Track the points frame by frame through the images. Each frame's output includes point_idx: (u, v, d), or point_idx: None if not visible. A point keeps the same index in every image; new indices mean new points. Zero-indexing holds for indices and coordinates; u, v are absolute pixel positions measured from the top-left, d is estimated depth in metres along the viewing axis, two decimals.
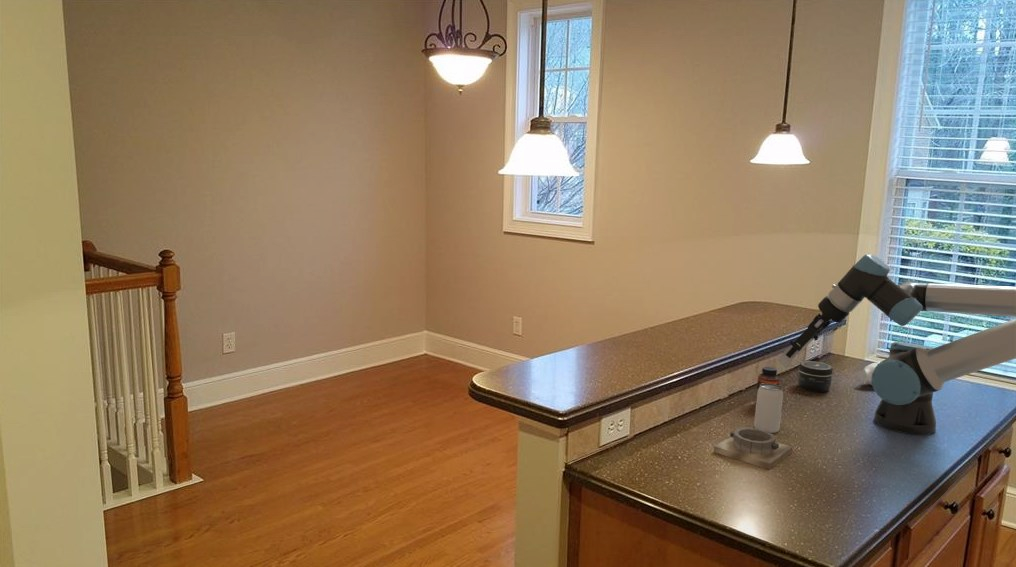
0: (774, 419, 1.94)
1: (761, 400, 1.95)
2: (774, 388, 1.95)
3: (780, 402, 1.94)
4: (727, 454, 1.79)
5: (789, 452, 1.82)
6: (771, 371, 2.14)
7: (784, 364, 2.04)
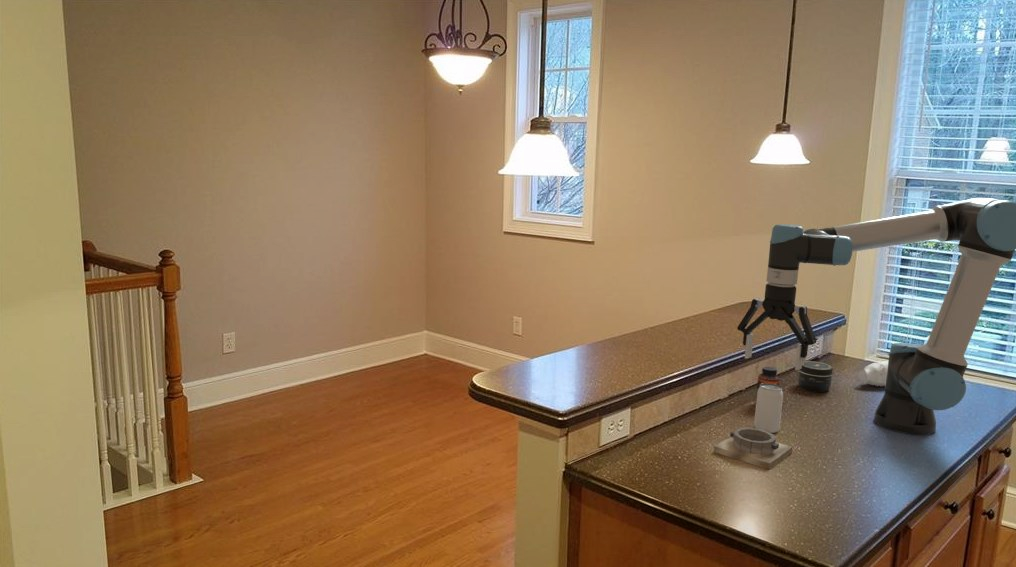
0: (774, 419, 1.94)
1: (761, 400, 1.95)
2: (774, 388, 1.95)
3: (780, 402, 1.94)
4: (727, 454, 1.79)
5: (789, 452, 1.82)
6: (771, 371, 2.14)
7: (801, 366, 1.91)
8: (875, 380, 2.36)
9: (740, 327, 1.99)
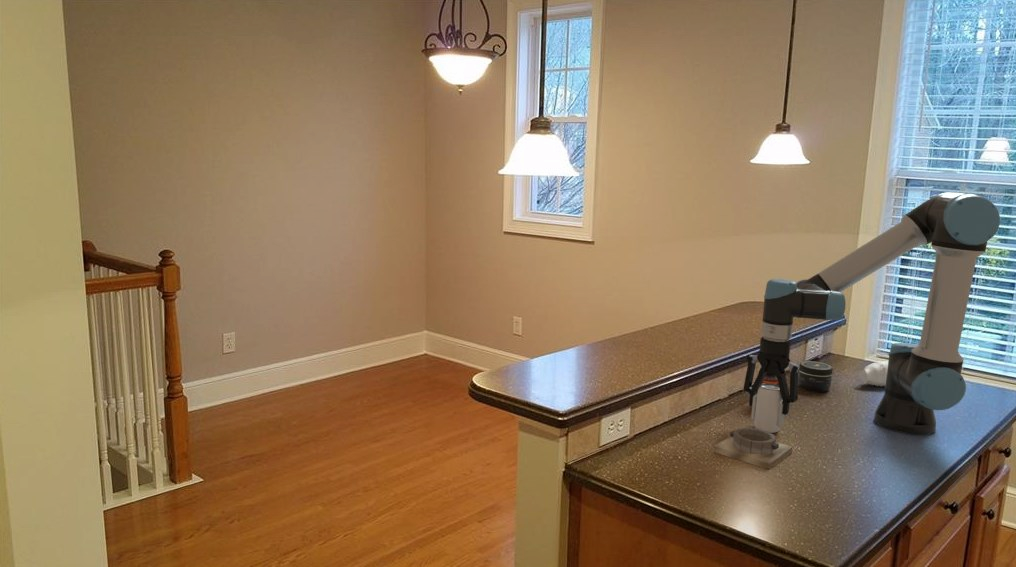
0: (774, 419, 1.94)
1: (761, 400, 1.95)
2: (774, 388, 1.95)
3: None
4: (727, 454, 1.79)
5: (789, 452, 1.82)
6: None
7: (783, 422, 1.96)
8: (875, 380, 2.36)
9: (746, 387, 1.99)
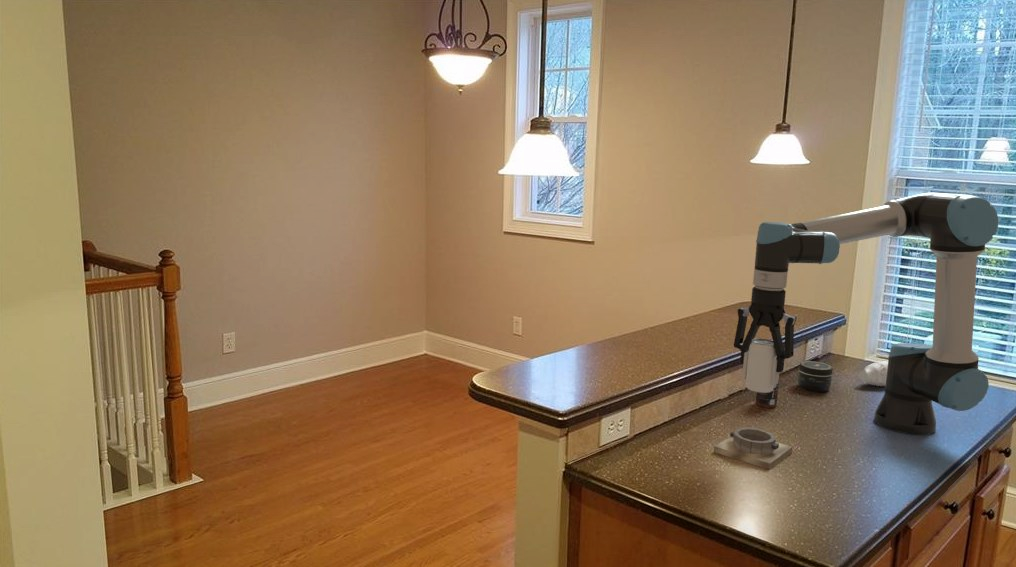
0: (767, 377, 1.75)
1: (753, 357, 1.76)
2: (767, 343, 1.77)
3: None
4: (727, 454, 1.79)
5: (789, 452, 1.82)
6: None
7: (777, 381, 1.77)
8: (875, 380, 2.36)
9: (736, 344, 1.81)
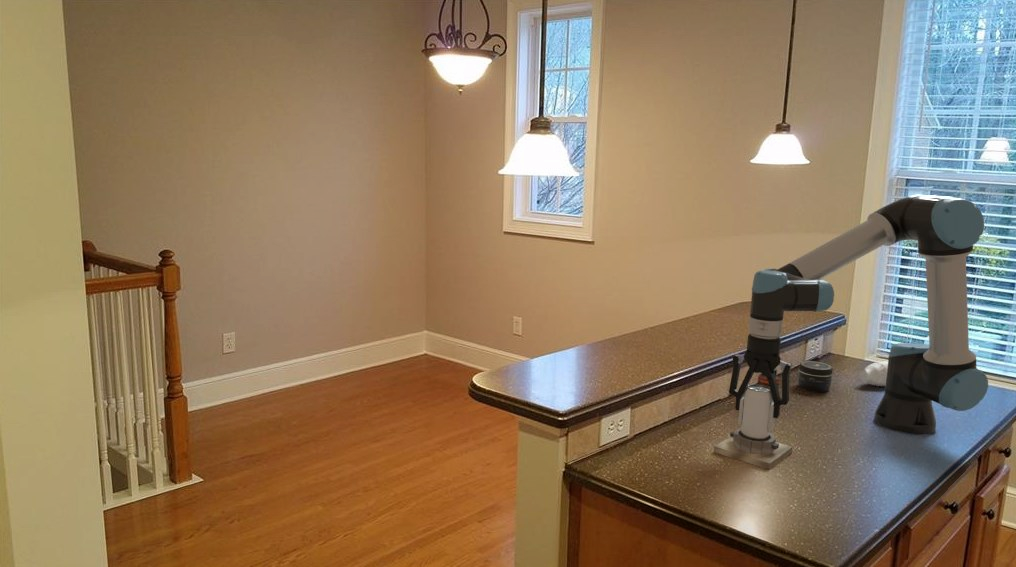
0: (764, 423, 1.78)
1: (751, 404, 1.78)
2: (763, 389, 1.79)
3: None
4: (727, 454, 1.79)
5: (789, 452, 1.82)
6: None
7: (773, 426, 1.80)
8: (876, 380, 2.36)
9: (732, 390, 1.82)
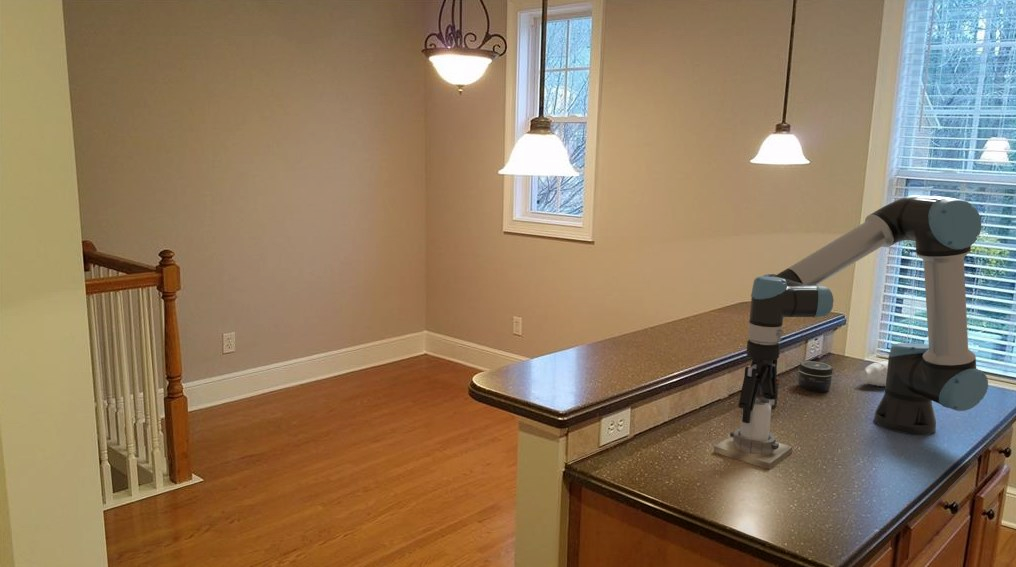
0: None
1: (767, 418, 1.78)
2: (758, 400, 1.81)
3: None
4: (727, 454, 1.79)
5: (789, 452, 1.82)
6: None
7: None
8: (876, 380, 2.36)
9: (749, 405, 1.73)
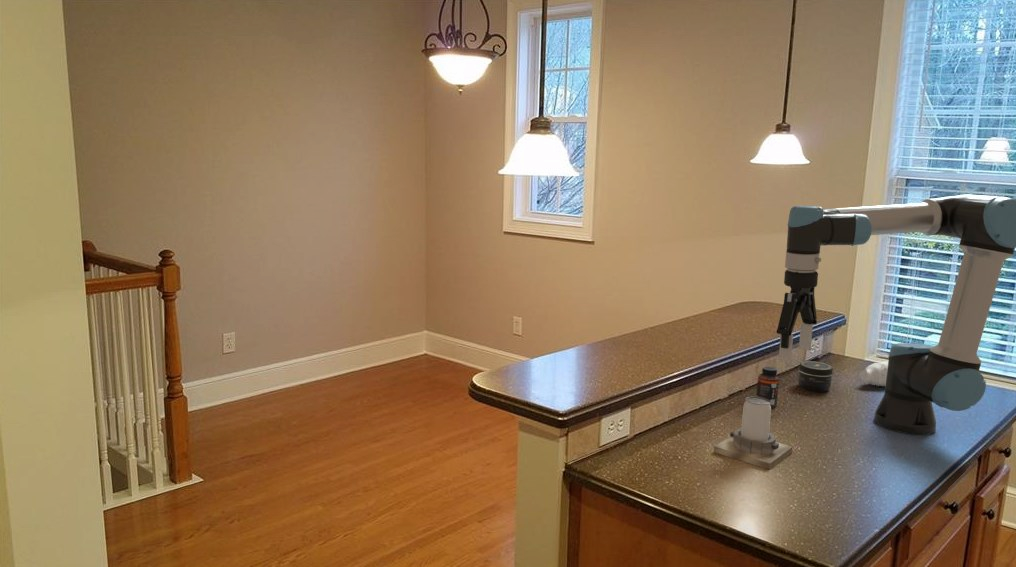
0: None
1: (767, 418, 1.78)
2: (759, 400, 1.81)
3: None
4: (727, 454, 1.79)
5: (789, 452, 1.82)
6: (771, 371, 2.14)
7: None
8: (876, 380, 2.36)
9: (788, 330, 1.73)
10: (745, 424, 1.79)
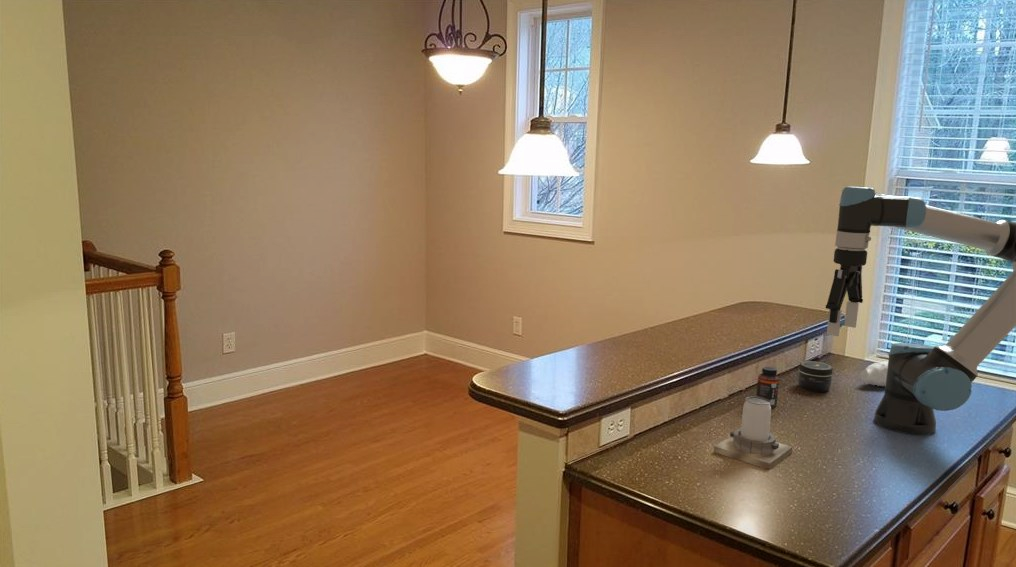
0: None
1: (767, 418, 1.78)
2: (759, 400, 1.81)
3: None
4: (727, 454, 1.79)
5: (789, 452, 1.82)
6: (771, 371, 2.14)
7: None
8: (877, 380, 2.36)
9: (838, 305, 1.80)
10: (745, 424, 1.79)
